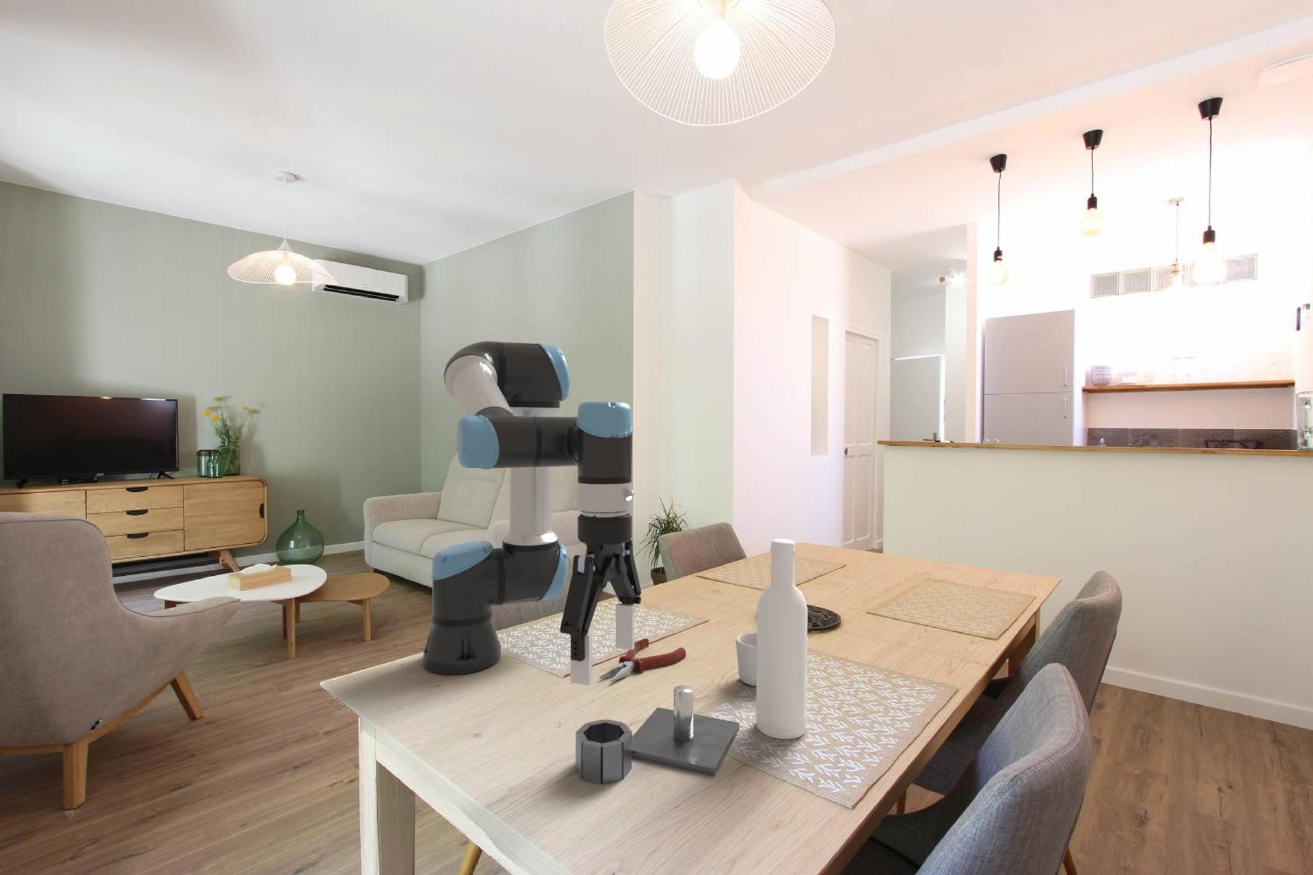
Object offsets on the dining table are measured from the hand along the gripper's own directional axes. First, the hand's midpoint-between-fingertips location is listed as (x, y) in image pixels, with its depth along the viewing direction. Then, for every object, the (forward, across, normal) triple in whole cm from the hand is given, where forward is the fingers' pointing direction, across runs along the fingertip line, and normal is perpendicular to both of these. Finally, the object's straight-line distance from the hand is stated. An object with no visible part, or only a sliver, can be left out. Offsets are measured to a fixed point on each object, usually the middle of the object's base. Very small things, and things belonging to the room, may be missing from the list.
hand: (604, 664), depth 86 cm
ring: (+15, 0, 0) cm, 15 cm away
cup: (+15, +37, -15) cm, 43 cm away
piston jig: (+15, +11, -8) cm, 20 cm away
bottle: (+15, +21, -21) cm, 33 cm away
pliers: (+15, +37, +11) cm, 41 cm away
